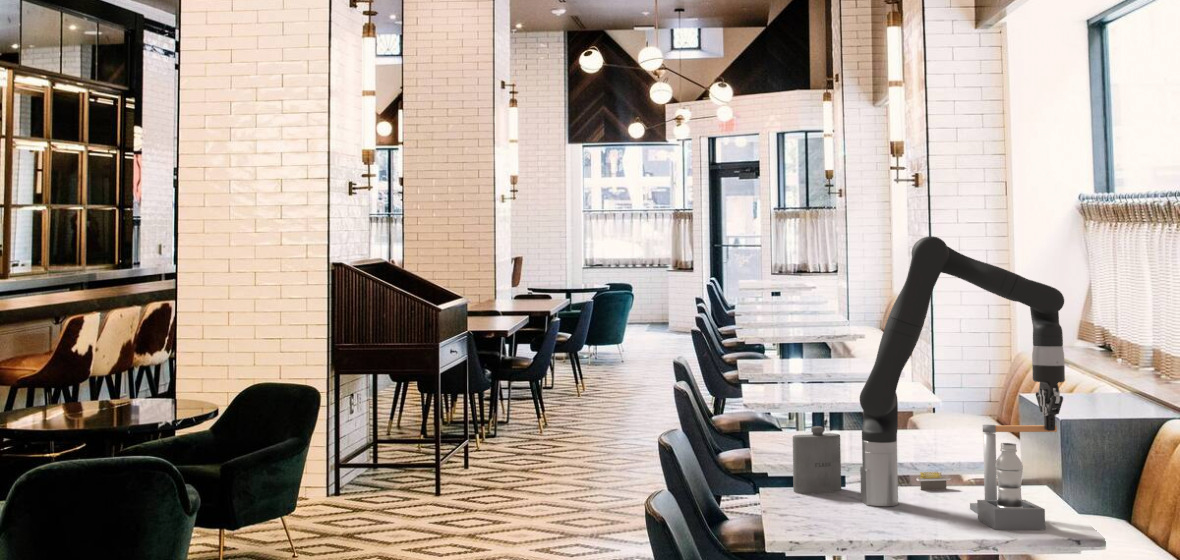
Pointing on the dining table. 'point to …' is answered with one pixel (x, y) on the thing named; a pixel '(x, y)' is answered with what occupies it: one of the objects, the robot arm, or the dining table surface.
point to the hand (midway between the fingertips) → (1049, 430)
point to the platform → (932, 481)
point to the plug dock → (987, 509)
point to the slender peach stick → (1015, 428)
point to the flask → (816, 462)
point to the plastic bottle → (1009, 477)
